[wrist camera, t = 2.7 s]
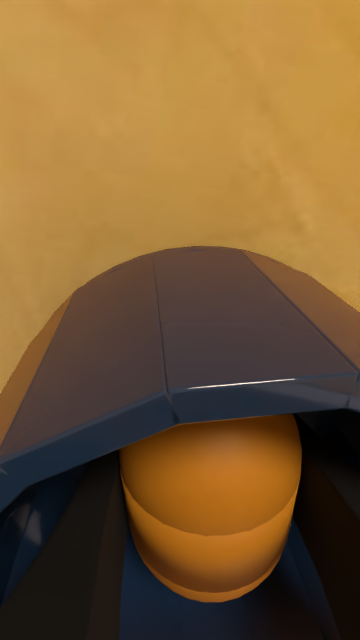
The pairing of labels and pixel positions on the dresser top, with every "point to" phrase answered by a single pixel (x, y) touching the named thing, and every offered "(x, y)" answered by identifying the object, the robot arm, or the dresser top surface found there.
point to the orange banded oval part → (213, 502)
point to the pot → (178, 413)
